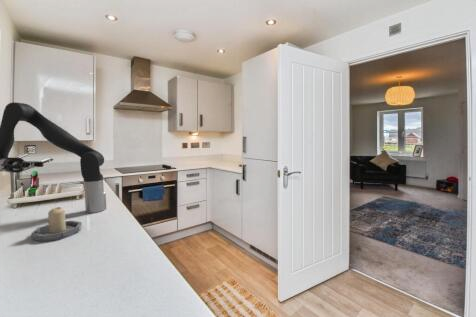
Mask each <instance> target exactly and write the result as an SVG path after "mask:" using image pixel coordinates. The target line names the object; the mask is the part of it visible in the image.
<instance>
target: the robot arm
mask: <svg viewBox="0 0 476 317" xmlns="http://www.w3.org/2000/svg"><path fill="white" fill-rule="evenodd" d="M19 122H25V123H28V124H30V125H31V126H33V127H34V128H36V129H37V130H38V131H39V132H40V134H41V135H42V137H43V138H44V139H45V140H47V142H50V143H51V144H52V145H54V146H55V147H58V148H59V149H62V150H64V151H66V152H69V153H72V154H74V155H76V156H77V157H79V158H80V159H79V160H80V161H79V162H80V173H81V177H82V179H83V189H84V191H83V192H84V204H85V205H84V208H85V213H87V214H94V213H99V212H103V211H105V210H107V194H106V191H105V188H104V175H103V174H102V173H101V170H100V169H101V168H100V167H101V166H102V165H104V162H105V157H104V156H103V154H102V153H101V152H99V151H97V150H95V149H94V148H92V147H90V146H88V145H87V144H85V143H83V142H82V141H81V140H80V139H78V138H77V137H75V136H74V135H73V134H71V133H70V132H69V131H67V130H66V129H63V128H62V127H61V126H59V125H58V124H56V123H55V122H53V121H52V120H50V119H49V118H47V117H45V116H44V115H43V114H41V112H39V111H38V110H37V109H36V108H35V107H33V106H32V105H30V104H27V103H22V102H9V103H7V104H6V106H5V107H4V109H3V113H2V118H1V121H0V172H5V173H13V174H15V173H17V174H18V173H21V172H23V171H24V170H27V169H34V168H42V167H44V162H43V161H41V160H40V161H34V160H30V161H29V160H24V159H23V158H21V157H12V156H11V157H9V155H10V152H11V149H12V148H13V146H14V143H15V129H16V126H17V125H18V123H19Z"/></svg>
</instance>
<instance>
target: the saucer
mask: <svg viewBox="0 0 476 317" xmlns="http://www.w3.org/2000/svg"><path fill="white" fill-rule="evenodd" d="M65 223H66V230H65V231H62V232H59V233H50V229H49V223H48V224H46V225H42V226H39V227H36V228H35V230H34V231H32V232H31V234H30V235H31V238H32V239H33V240H34V241H35V242H52V241H57V240H58V241H59V240H62V239H66V238H69V237H72V236H74V235H76V234H79V232H81V230H82V228H81V227H82V226H83V225H82V221H76V220H65Z"/></svg>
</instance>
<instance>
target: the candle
mask: <svg viewBox="0 0 476 317" xmlns="http://www.w3.org/2000/svg"><path fill="white" fill-rule="evenodd" d="M65 211H66V210H65V209H63V208H62V207H53V208H52V209H51V210H49V211H48V213H47V214H48V215H47V216H48V224H49V229H50V233H59V232H62V231H65V230H66V223H65V221H66V215H65V214H66V212H65Z"/></svg>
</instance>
